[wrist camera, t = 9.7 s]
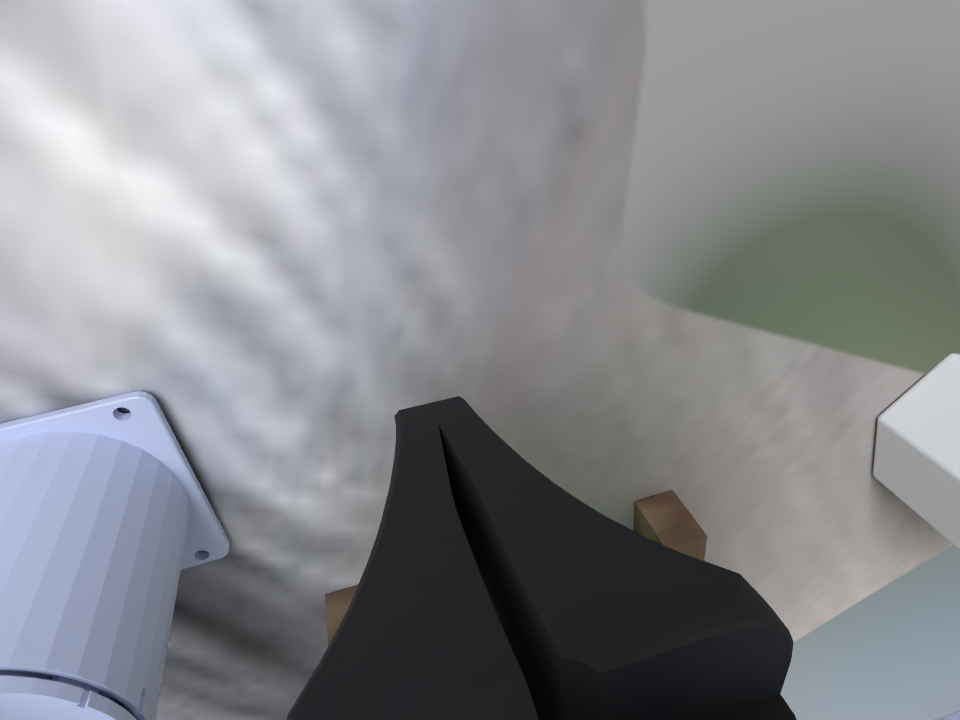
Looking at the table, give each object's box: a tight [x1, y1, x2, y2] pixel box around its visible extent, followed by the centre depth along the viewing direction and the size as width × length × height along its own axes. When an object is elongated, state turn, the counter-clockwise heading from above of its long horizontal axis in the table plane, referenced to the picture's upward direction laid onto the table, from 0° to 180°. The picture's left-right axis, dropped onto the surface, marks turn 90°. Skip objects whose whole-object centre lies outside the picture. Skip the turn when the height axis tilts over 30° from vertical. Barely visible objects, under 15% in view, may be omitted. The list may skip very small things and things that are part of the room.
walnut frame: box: [325, 490, 707, 645], centre depth 32 cm, size 17×15×3 cm
